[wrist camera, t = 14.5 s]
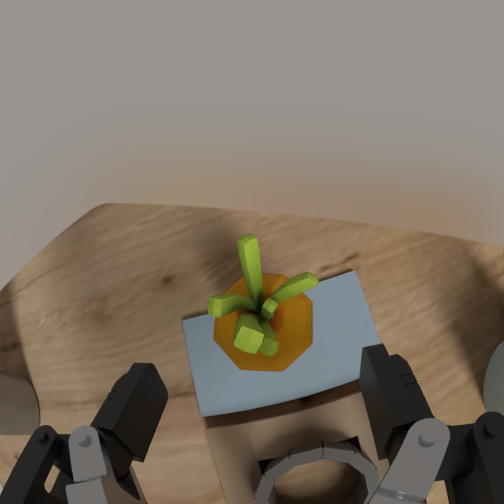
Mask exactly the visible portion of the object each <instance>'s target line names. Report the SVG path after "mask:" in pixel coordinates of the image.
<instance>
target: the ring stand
mask: <svg viewBox="0 0 504 504" xmlns="http://www.w3.org/2000/svg"><path fill="white" fill-rule="evenodd" d="M206 433H207V437H208V440H209V444H210V447H211V451H212V455H213V458H214V461H215V465H216V468H217V471H218V474H219V478H220V481H221V484H222V487H223V490H224V493H225V496H226V499H227V502H228V504H284V503H283V502H281V501H280V500H279V499H278V497H277V494H276V491H275V487H274V483H275V481H276V480H277V479H278V478H280V477H281V476H283V475H284V474H285V473H287V472H288V471H289V470H291V469H292V468H293V467H295V466H297V465H302V464H306V463H310V462H314V461H318V460H322V459H324V460H331V461H338V462H346V463H349V464H350V465H352V466H353V467H354V468H356V469H357V470H358V471H359V474H360V478H361V479H360V481H359V483H358V485H357V487H356V489H355V492H354V494H353V495H352V496H351V497H350V498H349V499H347V500H346V501H345V502H343V503H342V504H367V503H368V501H369V500H370V498H371V497H372V495H373V493H374V492H375V490H376V489H377V487H378V486H379V484H380V482H381V481H382V479H383V477H384V475H385V474H386V472H387V470H388V468H389V463H388V458H387V459H383V460H378V456H377V451H376V447H375V443H374V439H373V434H372V430H371V426H370V422H369V419H368V415H367V411H366V407H365V404H364V400H363V396H362V393H361V390H358V391H355V392H352V393H350V394H347V395H344V396H341V397H338V398H335V399H332V400H329V401H326V402H322V403H319V404H316V405H312V406H309V407H305V408H302V409H298V410H294V411H290V412H286V413H282V414H277V415H273V416H268V417H264V418H259V419H254V420H248V421H242V422H236V423H230V424H223V425H216V426H211V427H209V428H207V429H206ZM355 436H356V439H357V443H358V447H357V446H355V445H354V444H353V443H352V442H350V441H348V440H346V439H349V438H352V437H355ZM266 459H271V460H270V461H269V463H268V465H267V467H266V469H265V470H264V467H263V463H262V460H266Z"/></svg>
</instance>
